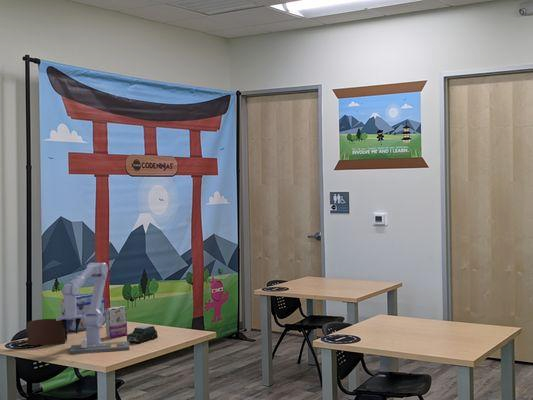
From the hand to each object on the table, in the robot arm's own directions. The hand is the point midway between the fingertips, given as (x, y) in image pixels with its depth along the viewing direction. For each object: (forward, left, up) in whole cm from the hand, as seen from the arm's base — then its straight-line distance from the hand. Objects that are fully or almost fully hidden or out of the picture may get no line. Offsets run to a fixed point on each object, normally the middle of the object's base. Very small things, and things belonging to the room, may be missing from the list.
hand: (71, 333), depth 367 cm
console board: (-2, +14, -9) cm, 17 cm away
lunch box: (-61, +2, -10) cm, 62 cm away
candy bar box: (-33, +22, -10) cm, 41 cm away
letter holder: (-28, -15, -10) cm, 33 cm away
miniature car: (-17, +36, -10) cm, 41 cm away
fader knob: (0, +6, -7) cm, 10 cm away
